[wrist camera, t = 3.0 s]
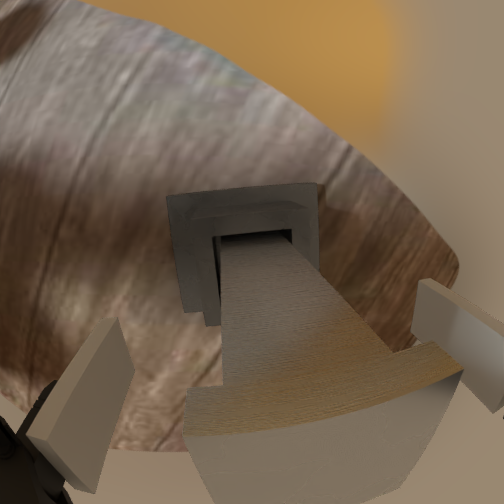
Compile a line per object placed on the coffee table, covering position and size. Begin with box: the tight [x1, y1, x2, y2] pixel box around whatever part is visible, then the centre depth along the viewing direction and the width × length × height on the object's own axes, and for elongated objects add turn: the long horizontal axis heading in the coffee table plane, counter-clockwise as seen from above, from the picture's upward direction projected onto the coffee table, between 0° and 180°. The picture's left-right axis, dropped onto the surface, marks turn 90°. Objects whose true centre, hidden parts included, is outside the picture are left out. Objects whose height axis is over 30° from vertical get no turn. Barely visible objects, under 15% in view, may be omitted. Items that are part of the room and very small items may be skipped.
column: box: [182, 230, 464, 504], centre depth 14 cm, size 5×5×19 cm
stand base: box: [166, 183, 319, 327], centre depth 17 cm, size 12×11×16 cm
